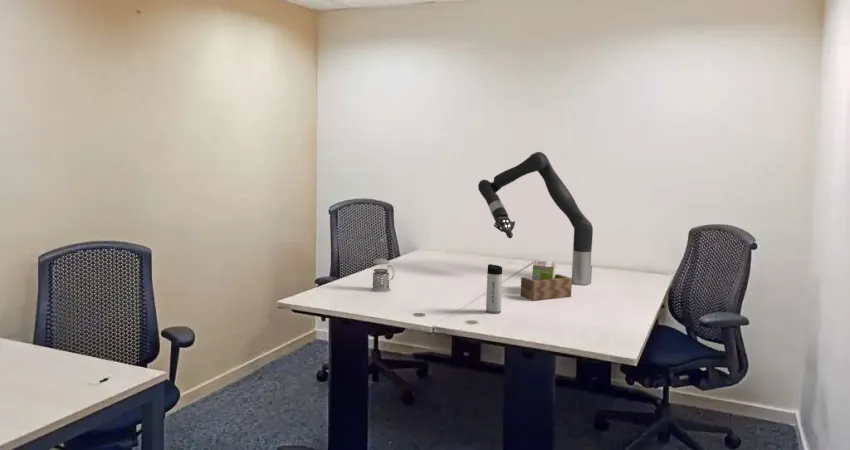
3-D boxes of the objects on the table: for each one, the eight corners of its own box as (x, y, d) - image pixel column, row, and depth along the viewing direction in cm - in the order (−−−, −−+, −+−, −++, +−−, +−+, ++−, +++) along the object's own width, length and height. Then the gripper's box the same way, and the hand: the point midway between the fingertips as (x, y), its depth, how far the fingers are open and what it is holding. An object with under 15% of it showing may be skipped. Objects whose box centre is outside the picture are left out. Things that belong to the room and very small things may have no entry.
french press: (375, 287, 313) (376, 236, 310) (397, 289, 309) (398, 238, 306) (367, 291, 304) (367, 239, 300) (389, 293, 300) (390, 240, 297)
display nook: (557, 292, 310) (558, 274, 309) (571, 296, 301) (572, 278, 300) (520, 296, 300) (521, 277, 299) (533, 301, 291) (534, 281, 290)
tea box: (552, 297, 300) (553, 266, 298) (530, 295, 302) (532, 265, 300) (553, 290, 314) (555, 261, 312) (533, 289, 316) (534, 259, 315)
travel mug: (492, 309, 275) (494, 263, 272) (503, 312, 270) (505, 265, 267) (482, 311, 271) (483, 264, 269) (493, 314, 266) (495, 267, 263)
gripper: (490, 206, 331) (503, 233, 322) (511, 206, 337) (524, 232, 328) (484, 216, 336) (497, 242, 327) (505, 215, 342) (518, 241, 333)
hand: (510, 237), depth 327 cm, fingers closed
